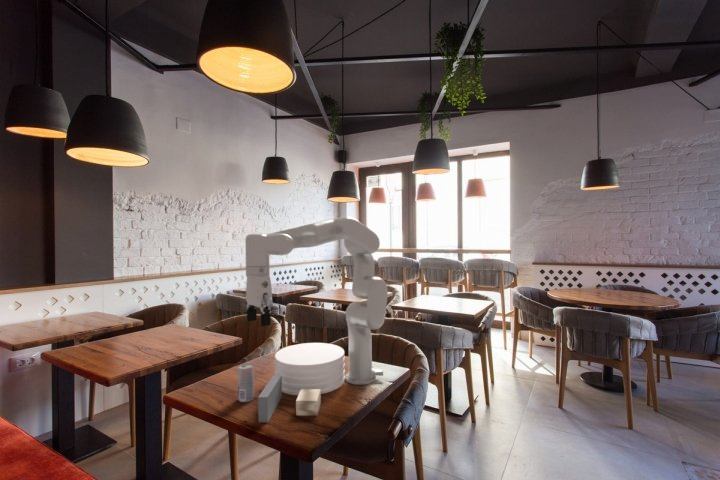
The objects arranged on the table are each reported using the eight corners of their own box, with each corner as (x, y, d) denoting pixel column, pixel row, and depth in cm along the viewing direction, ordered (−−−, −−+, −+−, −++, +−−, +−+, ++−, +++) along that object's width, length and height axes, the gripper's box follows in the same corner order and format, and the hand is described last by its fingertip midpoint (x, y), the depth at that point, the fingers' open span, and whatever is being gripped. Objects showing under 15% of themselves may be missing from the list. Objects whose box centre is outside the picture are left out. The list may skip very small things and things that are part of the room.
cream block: (320, 403, 125) (320, 388, 125) (317, 415, 116) (317, 400, 116) (301, 403, 125) (300, 389, 125) (296, 416, 116) (295, 400, 116)
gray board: (281, 396, 130) (281, 375, 130) (267, 422, 112) (267, 397, 112) (273, 396, 130) (273, 375, 130) (258, 422, 112) (258, 397, 112)
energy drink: (248, 394, 132) (248, 362, 132) (256, 398, 128) (256, 365, 128) (235, 399, 127) (234, 366, 127) (243, 404, 124) (243, 370, 124)
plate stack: (356, 374, 150) (356, 347, 150) (320, 402, 125) (319, 369, 125) (303, 364, 163) (302, 339, 163) (260, 387, 138) (259, 358, 138)
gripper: (281, 272, 113) (282, 325, 113) (256, 269, 126) (257, 317, 126) (259, 274, 108) (260, 330, 108) (235, 270, 120) (236, 320, 121)
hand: (258, 323), depth 117 cm, fingers open, 9 cm apart
